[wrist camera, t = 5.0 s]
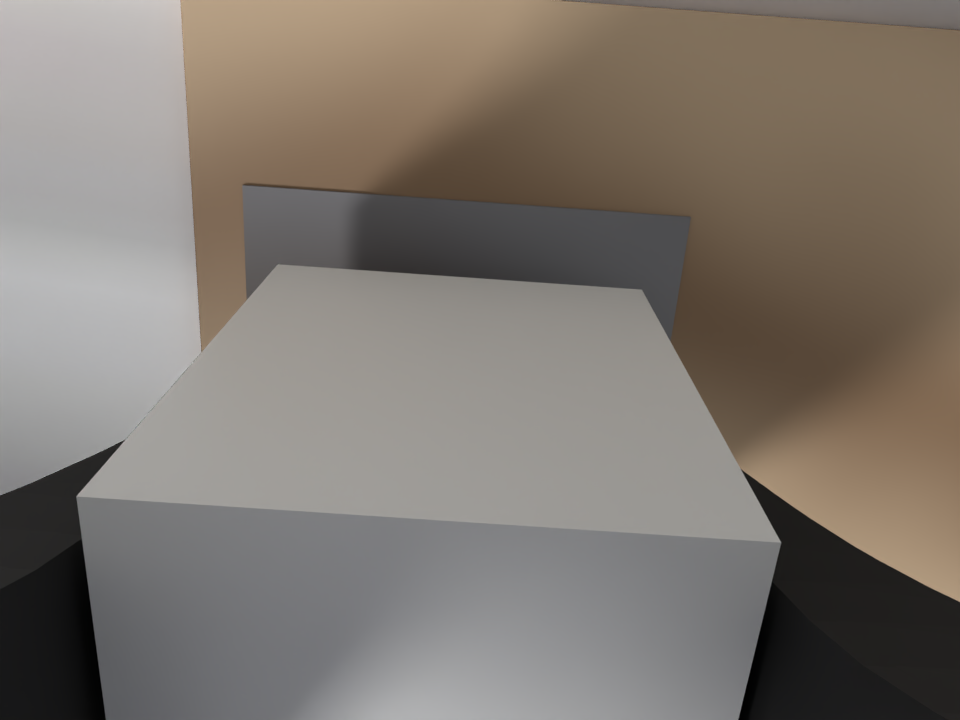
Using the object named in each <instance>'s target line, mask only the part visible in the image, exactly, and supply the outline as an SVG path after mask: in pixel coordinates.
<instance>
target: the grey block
mask: <svg viewBox="0 0 960 720" xmlns="http://www.w3.org/2000/svg"><path fill="white" fill-rule="evenodd" d="M76 498H77V505H78V513H79V520H80V528H81V535H82V543H83V551H84V558H85V566H86V573H87V581H88V588H89V596H90V603H91V611H92V619H93V626H94V634H95V641H96V649H97V656H98V664H99V671H100V679H101V687H102V694H103V702H104V709H105V717H106V720H738V719H739V715H740V711H741V707H742V702H743V698H744V694H745V690H746V686H747V682H748V678H749V674H750V669H751V665H752V661H753V657H754V653H755V649H756V645H757V641H758V636H759V632H760V628H761V624H762V620H763V616H764V612H765V608H766V603H767V599H768V595H769V591H770V587H771V583H772V579H773V575H774V571H775V566H776V562H777V558H778V554H779V550H780V546H781V541H780V540H779V538H778V536H777V534H776V532H775V530H774V529H773V527H772V525H771V523H770V521H769V520H768V518H767V516H766V514H765V512H764V511H763V509H762V507H761V505H760V503H759V501H758V500H757V498H756V496H755V494H754V492H753V491H752V489H751V487H750V485H749V483H748V481H747V480H746V478H745V476H744V474H743V472H742V471H741V469H740V467H739V465H738V463H737V461H736V460H735V458H734V456H733V454H732V452H731V451H730V449H729V447H728V445H727V443H726V442H725V440H724V438H723V436H722V434H721V432H720V431H719V429H718V427H717V425H716V423H715V422H714V420H713V418H712V416H711V414H710V412H709V411H708V409H707V407H706V405H705V403H704V402H703V400H702V398H701V396H700V394H699V393H698V391H697V389H696V387H695V385H694V383H693V382H692V380H691V378H690V376H689V374H688V373H687V371H686V369H685V367H684V365H683V363H682V362H681V360H680V358H679V356H678V354H677V353H676V351H675V349H674V347H673V345H672V344H671V342H670V340H669V338H668V336H667V334H666V333H665V331H664V329H663V327H662V325H661V324H660V322H659V320H658V318H657V316H656V314H655V313H654V311H653V309H652V307H651V305H650V304H649V302H648V300H647V298H646V296H645V295H644V293H643V291H642V290H640V289H626V288H611V287H597V286H583V285H568V284H554V283H539V282H525V281H511V280H496V279H482V278H467V277H453V276H439V275H424V274H410V273H396V272H381V271H367V270H352V269H338V268H324V267H309V266H295V265H280V264H278V265H277V266H276V267H275V268H274V269H273V270H272V272H271V273H270V274H269V275H268V276H267V277H266V279H265V280H264V281H263V282H262V283H261V284H260V285H259V287H258V288H257V289H256V290H255V291H254V292H253V294H252V295H251V296H250V297H249V298H248V299H247V300H246V302H245V303H244V304H243V305H242V306H241V307H240V308H239V310H238V311H237V312H236V313H235V314H234V315H233V317H232V318H231V319H230V320H229V321H228V322H227V323H226V325H225V326H224V327H223V328H222V329H221V330H220V332H219V333H218V334H217V335H216V336H215V337H214V338H213V340H212V341H211V342H210V343H209V344H208V345H207V347H206V348H205V349H204V350H203V351H202V352H201V353H200V355H199V356H198V357H197V358H196V359H195V360H194V362H193V363H192V364H191V365H190V366H189V367H188V368H187V370H186V371H185V372H184V373H183V374H182V375H181V376H180V378H179V379H178V380H177V381H176V382H175V383H174V385H173V386H172V387H171V388H170V389H169V390H168V391H167V393H166V394H165V395H164V396H163V397H162V398H161V400H160V401H159V402H158V403H157V404H156V405H155V406H154V408H153V409H152V410H151V411H150V412H149V413H148V415H147V416H146V417H145V418H144V419H143V420H142V421H141V423H140V424H139V425H138V426H137V427H136V428H135V430H134V431H133V432H132V433H131V434H130V435H129V436H128V438H127V439H126V440H125V441H124V442H123V443H122V444H121V446H120V447H119V448H118V449H117V450H116V451H115V453H114V454H113V455H112V456H111V457H110V458H109V459H108V461H107V462H106V463H105V464H104V465H103V466H102V468H101V469H100V470H99V471H98V472H97V473H96V474H95V476H94V477H93V478H92V479H91V480H90V481H89V483H88V484H87V485H86V486H85V487H84V488H83V489H82V491H81V492H80V493H79V494H78V495H77V496H76Z"/></svg>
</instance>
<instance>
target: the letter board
mask: <svg viewBox="0 0 960 720" xmlns="http://www.w3.org/2000/svg"><path fill="white" fill-rule="evenodd" d="M181 17H182V34H183V50H184V67H185V84H186V101H187V118H188V134H189V151H190V168H191V185H192V201H193V218H194V235H195V252H196V269H197V285H198V302H199V319H200V336H201V352H202V351H203V350H204V349H205V348H206V347H207V345H208V344H209V343H210V342H211V341H212V340H213V338H214V337H215V336H216V335H217V334H218V333H219V332H220V330H221V329H222V328H223V327H224V326H225V325H226V323H227V322H228V321H229V320H230V319H231V318H232V317H233V315H234V314H235V313H236V312H237V311H238V310H239V308H240V307H241V306H242V305H243V304H244V303H245V302H246V300H247V299H248V298H249V297H250V296H251V295H252V294H253V292H254V291H255V290H256V289H257V288H258V287H259V285H260V284H261V283H262V282H263V281H264V280H265V279H266V277H267V276H268V275H269V274H270V273H271V272H272V270H273V269H274V268H275V267H276V266H277V265H278V264H280V265H295V266H309V267H324V268H338V269H352V270H367V271H381V272H396V273H410V274H424V275H439V276H453V277H467V278H482V279H496V280H511V281H525V282H539V283H554V284H568V285H583V286H597V287H611V288H626V289H640V290H642V291H643V293H644V295H645V296H646V298H647V300H648V302H649V304H650V305H651V307H652V309H653V311H654V313H655V314H656V316H657V318H658V320H659V322H660V324H661V325H662V327H663V329H664V331H665V333H666V334H667V336H668V338H669V340H670V342H671V344H672V345H673V347H674V349H675V351H676V353H677V354H678V356H679V358H680V360H681V362H682V363H683V365H684V367H685V369H686V371H687V373H688V374H689V376H690V378H691V380H692V382H693V383H694V385H695V387H696V389H697V391H698V393H699V394H700V396H701V398H702V400H703V402H704V403H705V405H706V407H707V409H708V411H709V412H710V414H711V416H712V418H713V420H714V422H715V423H716V425H717V427H718V429H719V431H720V432H721V434H722V436H723V438H724V440H725V442H726V443H727V445H728V447H729V449H730V451H731V452H732V454H733V456H734V458H735V460H736V461H737V463H738V465H739V467H740V469H742V470H743V471H744V472H746V473H747V474H748V475H750V476H751V477H752V478H754V479H755V480H757V481H758V482H759V483H761V484H762V485H763V486H765V487H766V488H767V489H769V490H770V491H772V492H773V493H774V494H776V495H777V496H779V497H780V498H781V499H783V500H784V501H786V502H787V503H789V504H790V505H791V506H793V507H794V508H796V509H797V510H799V511H800V512H802V513H803V514H805V515H806V516H808V517H809V518H811V519H812V520H814V521H815V522H817V523H818V524H820V525H821V526H823V527H825V528H826V529H828V530H829V531H831V532H832V533H834V534H836V535H837V536H839V537H840V538H842V539H843V540H845V541H847V542H848V543H850V544H851V545H853V546H855V547H856V548H858V549H860V550H862V551H863V552H865V553H867V554H868V555H870V556H872V557H874V558H875V559H877V560H879V561H881V562H883V563H885V564H887V565H888V566H890V567H892V568H894V569H896V570H898V571H900V572H902V573H903V574H905V575H907V576H909V577H911V578H913V579H915V580H917V581H918V582H920V583H922V584H924V585H926V586H928V587H930V588H932V589H934V590H936V591H938V592H940V593H942V594H944V595H946V596H949V597H951V598H953V599H955V600H957V601H959V602H960V30H950V29H936V28H923V27H909V26H896V25H883V24H869V23H856V22H842V21H829V20H815V19H802V18H789V17H775V16H762V15H748V14H735V13H721V12H708V11H695V10H681V9H668V8H654V7H641V6H627V5H614V4H600V3H587V2H574V1H560V0H181Z"/></svg>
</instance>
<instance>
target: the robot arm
mask: <svg viewBox="0 0 960 720" xmlns="http://www.w3.org/2000/svg"><path fill="white" fill-rule="evenodd" d="M124 441H125V440H124ZM124 441H122V442H120V443H118V444H116V445H114V446H112V447H110V448H108V449H106V450H104V451H102V452H100V453H98V454H95V455H93V456H91V457H89V458H86V459H84V460H82V461H80V462H77V463H75V464H73V465H71V466H69V467H66V468H64V469H62V470H60V471H57V472H55V473H53V474H51V475H48V476H46V477H44V478H42V479H40V480H37V481H35V482H33V483H31V484H28V485H26V486H23V487H21V488H18V489H16V490H13V491H11V492H8V493H6V494H3V495H1V496H0V720H106V717H105V709H104V702H103V694H102V687H101V679H100V671H99V664H98V656H97V649H96V641H95V634H94V626H93V619H92V611H91V603H90V596H89V588H88V581H87V573H86V566H85V558H84V551H83V543H82V535H81V528H80V520H79V513H78V505H77V498H76V496H77V495H78V494H79V493H80V492H81V491H82V489H83V488H84V487H85V486H86V485H87V484H88V483H89V481H90V480H91V479H92V478H93V477H94V476H95V474H96V473H97V472H98V471H99V470H100V469H101V468H102V466H103V465H104V464H105V463H106V462H107V461H108V459H109V458H110V457H111V456H112V455H113V454H114V453H115V451H116V450H117V449H118V448H119V447H120V446H121V444H122V443H123V442H124ZM741 471H742V472H743V474H744V476H745V478H746V480H747V481H748V483H749V485H750V487H751V489H752V491H753V492H754V494H755V496H756V498H757V500H758V501H759V503H760V505H761V507H762V509H763V511H764V512H765V514H766V516H767V518H768V520H769V521H770V523H771V525H772V527H773V529H774V530H775V532H776V534H777V536H778V538H779V540H780V541H781V546H780V550H779V554H778V558H777V562H776V566H775V571H774V575H773V579H772V583H771V587H770V591H769V595H768V599H767V603H766V608H765V612H764V616H763V620H762V624H761V628H760V632H759V636H758V641H757V645H756V649H755V653H754V657H753V661H752V665H751V669H750V674H749V678H748V682H747V686H746V690H745V694H744V698H743V702H742V707H741V711H740V715H739V719H738V720H960V602H959V601H957V600H955V599H953V598H951V597H949V596H946V595H944V594H942V593H940V592H938V591H936V590H934V589H932V588H930V587H928V586H926V585H924V584H922V583H920V582H918V581H917V580H915V579H913V578H911V577H909V576H907V575H905V574H903V573H902V572H900V571H898V570H896V569H894V568H892V567H890V566H888V565H887V564H885V563H883V562H881V561H879V560H877V559H875V558H874V557H872V556H870V555H868V554H867V553H865V552H863V551H862V550H860V549H858V548H856V547H855V546H853V545H851V544H850V543H848V542H847V541H845V540H843V539H842V538H840V537H839V536H837V535H836V534H834V533H832V532H831V531H829V530H828V529H826V528H825V527H823V526H821V525H820V524H818V523H817V522H815V521H814V520H812V519H811V518H809V517H808V516H806V515H805V514H803V513H802V512H800V511H799V510H797V509H796V508H794V507H793V506H791V505H790V504H789V503H787V502H786V501H784V500H783V499H781V498H780V497H779V496H777V495H776V494H774V493H773V492H772V491H770V490H769V489H767V488H766V487H765V486H763V485H762V484H761V483H759V482H758V481H757V480H755V479H754V478H752V477H751V476H750V475H748V474H747V473H746V472H744V471H743V470H742V469H741Z"/></svg>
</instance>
